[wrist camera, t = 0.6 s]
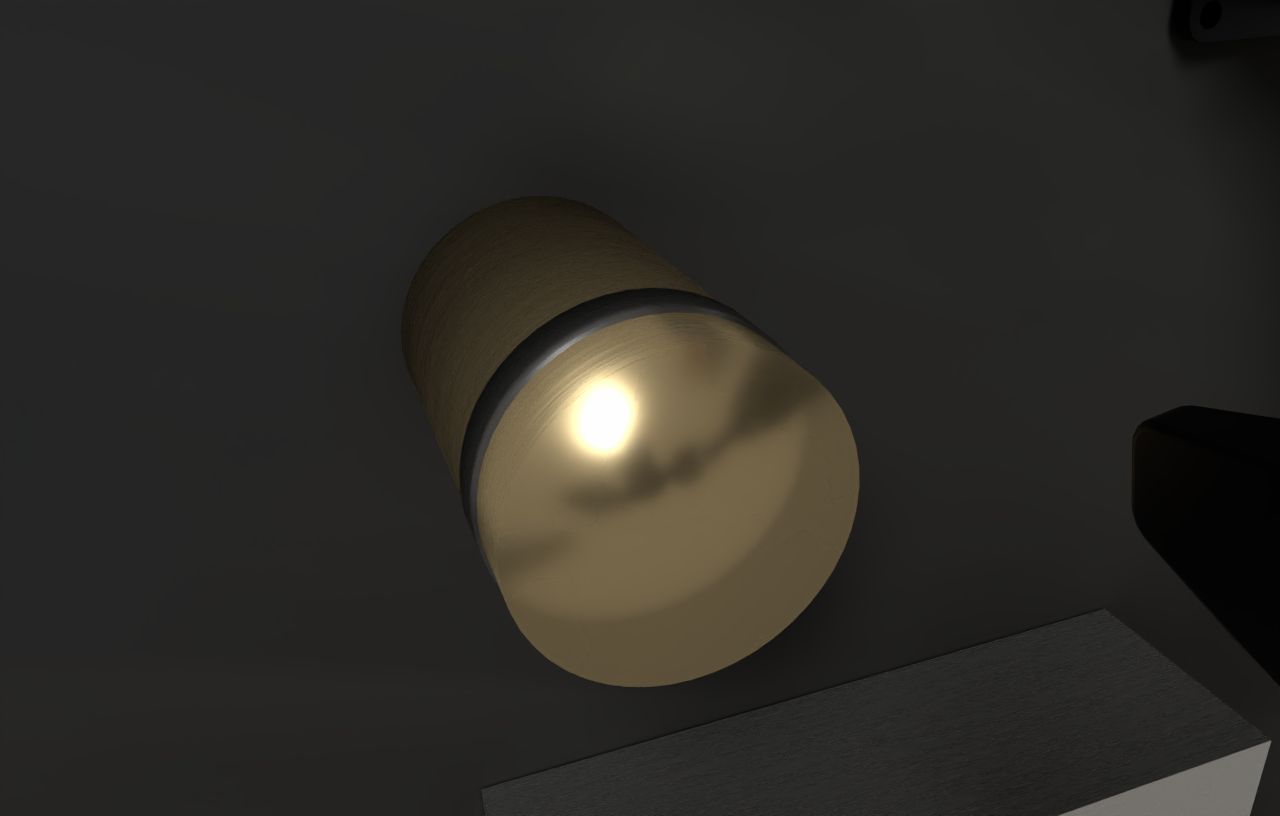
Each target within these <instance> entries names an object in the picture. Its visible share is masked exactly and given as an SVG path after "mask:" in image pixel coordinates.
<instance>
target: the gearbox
mask: <svg viewBox="0 0 1280 816" xmlns="http://www.w3.org/2000/svg"><path fill="white" fill-rule="evenodd" d="M1270 743H1271V740H1270V739H1269V738H1268V737H1266V736H1265V735H1264V734H1263V733H1261V732H1260V731H1259V730H1258V729H1256V728H1255V727H1254V726H1253V725H1251V724H1250V723H1249V722H1247V721H1246V720H1245V719H1244V718H1242V717H1241V716H1240V715H1239V714H1237V713H1236V712H1235V711H1234V710H1232V709H1231V708H1230V707H1228V706H1227V705H1226V704H1225V703H1223V702H1222V701H1221V700H1220V699H1218V698H1217V697H1216V696H1215V695H1213V694H1212V693H1211V692H1209V691H1208V690H1207V689H1206V688H1204V687H1203V686H1202V685H1201V684H1199V683H1198V682H1197V681H1196V680H1194V679H1193V678H1192V677H1190V676H1189V675H1188V674H1187V673H1185V672H1184V671H1183V670H1182V669H1180V668H1179V667H1178V666H1177V665H1175V664H1174V663H1173V662H1171V661H1170V660H1169V659H1168V658H1166V657H1165V656H1164V655H1163V654H1161V653H1160V652H1159V651H1158V650H1156V649H1155V648H1154V647H1153V646H1151V645H1150V644H1149V643H1147V642H1146V641H1145V640H1144V639H1142V638H1141V637H1140V636H1139V635H1137V634H1136V633H1135V632H1134V631H1132V630H1131V629H1130V628H1128V627H1127V626H1126V625H1125V624H1123V623H1122V622H1121V621H1120V620H1118V619H1117V618H1116V617H1115V616H1113V615H1112V614H1111V613H1109V612H1108V611H1107V610H1106V609H1102V610H1099V611H1095V612H1092V613H1088V614H1085V615H1081V616H1078V617H1075V618H1071V619H1068V620H1064V621H1061V622H1057V623H1054V624H1050V625H1047V626H1043V627H1040V628H1037V629H1033V630H1030V631H1026V632H1023V633H1019V634H1016V635H1012V636H1009V637H1005V638H1002V639H999V640H995V641H992V642H988V643H985V644H981V645H978V646H974V647H971V648H967V649H964V650H961V651H957V652H954V653H950V654H947V655H943V656H940V657H936V658H933V659H930V660H926V661H923V662H919V663H916V664H912V665H909V666H905V667H902V668H898V669H895V670H892V671H888V672H885V673H881V674H878V675H874V676H871V677H867V678H864V679H860V680H857V681H854V682H850V683H847V684H843V685H840V686H836V687H833V688H829V689H826V690H822V691H819V692H816V693H812V694H809V695H805V696H802V697H798V698H795V699H791V700H788V701H784V702H781V703H778V704H774V705H771V706H767V707H764V708H760V709H757V710H753V711H750V712H747V713H743V714H740V715H736V716H733V717H729V718H726V719H722V720H719V721H715V722H712V723H709V724H705V725H702V726H698V727H695V728H691V729H688V730H684V731H681V732H677V733H674V734H671V735H667V736H664V737H660V738H657V739H653V740H650V741H646V742H643V743H639V744H636V745H633V746H629V747H626V748H622V749H619V750H615V751H612V752H608V753H605V754H602V755H598V756H595V757H591V758H588V759H584V760H581V761H577V762H574V763H570V764H567V765H564V766H560V767H557V768H553V769H550V770H546V771H543V772H539V773H536V774H532V775H529V776H526V777H522V778H519V779H515V780H512V781H508V782H505V783H501V784H498V785H494V786H491V787H488V788H484V789H481V792H482V799H483V807H484V814H485V816H1250V812H1251V809H1252V805H1253V802H1254V799H1255V795H1256V792H1257V788H1258V785H1259V781H1260V778H1261V774H1262V771H1263V767H1264V764H1265V760H1266V757H1267V754H1268V750H1269V747H1270Z"/></svg>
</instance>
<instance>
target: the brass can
mask: <svg viewBox="0 0 1280 816" xmlns="http://www.w3.org/2000/svg"><path fill="white" fill-rule="evenodd" d="M401 335H402V349H403V354H404V358H405V363H406V367H407V369H408V372H409V375H410V377H411V380H412V382H413V385H414V387H415V389H416V392H417V394H418V397H419V399H420V401H421V404H422V406H423V408H424V411H425V413H426V415H427V418H428V420H429V422H430V425H431V427H432V430H433V432H434V434H435V437H436V439H437V441H438V444H439V446H440V448H441V451H442V453H443V455H444V458H445V460H446V462H447V465H448V467H449V470H450V472H451V474H452V477H453V479H454V481H455V484H456V486H457V488H458V491H459V493H460V495H461V498H462V503H463V508H464V513H465V515H466V518H467V521H468V523H469V526H470V529H471V531H472V534H473V536H474V539H475V541H476V543H477V546H478V548H479V551H480V553H481V555H482V558H483V560H484V562H485V565H486V566H487V568H488V570H489V572H490V573H491V575H492V577H493V579H494V580H495V582H496V583H497V584H498V586H499V587H500V590H501V592H502V594H503V597H504V599H505V601H506V604H507V606H508V609H509V611H510V613H511V615H512V616H513V618H514V620H515V622H516V623H517V625H518V627H519V629H520V630H521V632H522V633H523V634H524V635H525V636H526V638H527V639H528V640H529V641H530V643H531V644H532V645H533V646H534V647H535V648H536V649H537V650H538V651H540V652H541V653H542V654H543V655H544V656H545V657H546V658H548V659H549V660H550V661H552V662H554V663H555V664H557V665H558V666H560V667H562V668H563V669H565V670H567V671H569V672H571V673H573V674H576V675H578V676H580V677H583V678H585V679H589V680H592V681H596V682H600V683H603V684H609V685H617V686H624V687H652V686H661V685H670V684H675V683H679V682H684V681H688V680H692V679H695V678H698V677H702V676H705V675H708V674H711V673H713V672H716V671H718V670H720V669H722V668H725V667H727V666H729V665H731V664H734V663H735V662H737V661H739V660H741V659H742V658H744V657H746V656H748V655H750V654H751V653H753V652H755V651H756V650H758V649H759V648H760V647H762V646H763V645H765V644H766V643H768V642H769V641H770V640H772V639H773V638H774V637H776V636H777V635H778V634H779V633H780V632H781V631H783V630H784V629H785V628H786V627H787V626H788V625H790V624H791V623H792V622H793V621H794V620H795V619H796V618H797V617H798V616H799V614H800V613H801V612H802V611H803V610H804V609H805V608H806V607H807V606H808V605H809V604H810V602H811V601H812V600H813V599H814V597H815V596H816V595H817V594H818V592H819V591H820V590H821V588H822V587H823V585H824V584H825V582H826V581H827V579H828V578H829V576H830V575H831V573H832V571H833V570H834V568H835V566H836V564H837V562H838V560H839V558H840V556H841V554H842V552H843V550H844V548H845V545H846V542H847V540H848V537H849V534H850V532H851V529H852V525H853V521H854V517H855V513H856V509H857V502H858V494H859V463H858V456H857V449H856V445H855V441H854V438H853V435H852V431H851V428H850V426H849V424H848V422H847V420H846V417H845V415H844V413H843V411H842V409H841V408H840V406H839V405H838V404H837V402H836V401H835V399H834V398H833V396H832V395H831V394H830V392H829V391H828V390H827V389H826V388H825V387H824V386H823V385H822V384H821V383H820V382H819V381H818V380H817V379H816V378H815V377H813V376H812V375H811V374H810V373H808V372H807V371H806V370H804V369H803V368H802V367H801V366H799V365H798V364H797V363H796V362H794V361H793V360H792V358H791V357H790V356H789V355H788V354H787V353H786V352H785V351H784V350H783V349H782V348H781V346H780V345H779V344H778V343H777V342H775V341H774V340H773V339H772V338H770V337H769V336H768V335H766V334H765V333H764V332H763V331H761V330H760V329H759V328H757V327H756V326H755V325H754V324H752V323H751V322H750V321H748V320H747V319H746V318H744V317H743V316H742V315H740V314H739V313H738V312H736V311H735V310H733V309H732V308H730V307H728V306H726V305H724V304H722V303H720V302H718V301H717V300H716V299H714V298H713V297H712V296H711V295H709V294H708V293H707V292H705V291H704V290H703V289H702V288H700V287H699V286H698V285H697V284H695V283H694V282H693V281H691V280H690V279H689V278H688V277H686V276H685V275H684V274H683V273H681V272H680V271H679V270H678V269H676V268H675V267H674V266H672V265H671V264H670V263H669V262H667V261H666V260H665V259H664V258H662V257H661V256H660V255H658V254H657V253H656V252H655V251H653V250H652V249H651V248H650V247H648V246H647V245H646V244H645V243H643V242H642V241H641V240H639V239H638V238H637V237H636V236H634V235H633V234H632V233H631V232H629V231H628V230H627V229H625V228H624V227H623V226H622V225H620V224H619V223H618V222H616V221H615V220H614V219H612V218H611V217H610V216H608V215H607V214H605V213H603V212H601V211H599V210H598V209H596V208H594V207H592V206H589V205H586V204H584V203H581V202H578V201H575V200H570V199H565V198H561V197H549V196H533V197H522V198H517V199H512V200H507V201H504V202H501V203H498V204H495V205H492V206H489V207H487V208H485V209H483V210H481V211H479V212H476V213H474V214H472V215H471V216H469V217H468V218H466V219H465V220H463V221H462V222H460V223H459V224H457V225H456V226H455V227H454V228H452V229H451V230H450V231H449V232H448V233H447V234H445V235H444V236H443V237H442V238H441V239H440V240H439V242H438V243H437V244H436V245H435V246H434V247H433V248H432V249H431V251H430V252H429V253H428V255H427V256H426V258H425V259H424V261H423V262H422V263H421V265H420V267H419V269H418V271H417V273H416V275H415V276H414V278H413V280H412V283H411V286H410V288H409V291H408V294H407V297H406V301H405V305H404V310H403V315H402V329H401Z"/></svg>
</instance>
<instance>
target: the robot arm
mask: <svg viewBox="0 0 1280 816" xmlns="http://www.w3.org/2000/svg"><path fill="white" fill-rule="evenodd" d="M1204 6H1205V13H1204V16H1203V19H1202V20H1201V21H1200V14H1201V12H1202V9H1203V8H1204ZM1173 26H1174V29H1175V32H1176V34H1177V35H1178V36H1179V37H1180V38H1181V39H1183V40H1189V41H1196V42H1203V43H1209V42H1219V41H1228V40H1238V39H1247V38H1257V37H1267V36H1276V35H1280V0H1176V3H1175V8H1174V14H1173ZM1132 511H1133V515H1134V519H1135V522H1136V524H1137V526H1138V528H1139V530H1140V532H1141V533H1142V535H1143V536H1144V538H1145V539H1146V540H1147V542H1148V543H1149V544H1150V545H1151V546H1152V547H1153V548H1154V550H1155V551H1156V552H1157V553H1158V554H1159V555H1160V556H1161V557H1162V559H1163V560H1164V561H1165V562H1166V563H1167V564H1168V565H1169V566H1170V568H1171V569H1172V570H1173V571H1174V572H1175V573H1176V574H1177V575H1178V577H1179V578H1180V579H1181V580H1182V581H1183V582H1184V583H1185V584H1186V586H1187V587H1188V588H1189V589H1190V590H1191V591H1192V592H1193V593H1194V595H1195V596H1196V597H1197V598H1198V599H1199V600H1200V601H1201V603H1202V604H1203V605H1204V606H1205V607H1206V608H1207V609H1208V610H1209V612H1210V613H1211V614H1212V615H1213V616H1214V617H1215V618H1216V619H1217V621H1218V622H1219V623H1220V624H1221V625H1222V626H1223V627H1224V628H1225V630H1226V631H1227V632H1228V633H1229V634H1230V635H1231V636H1232V637H1233V639H1234V640H1235V641H1236V642H1237V643H1238V644H1239V645H1240V646H1241V648H1242V649H1243V650H1244V651H1245V652H1246V653H1247V654H1248V655H1249V657H1250V658H1251V659H1252V660H1253V661H1254V662H1255V663H1256V664H1257V665H1258V666H1259V667H1260V668H1261V670H1262V671H1263V672H1264V673H1265V674H1266V675H1267V676H1268V677H1269V678H1270V679H1271V680H1272V681H1273V682H1274V683H1275V684H1276V685H1277V686H1278V687H1279V688H1280V419H1278V418H1271V417H1264V416H1258V415H1251V414H1245V413H1238V412H1232V411H1225V410H1219V409H1212V408H1206V407H1199V406H1190V405H1189V406H1181V407H1178V408H1175V409H1172V410H1170V411H1167V412H1165V413H1162V414H1160V415H1157V416H1155V417H1152V418H1150V419H1147V420H1145V421H1144V422H1142V423H1141V424H1140V425H1139V426H1138V427H1137V429H1136V431H1135V433H1134V435H1133V442H1132Z"/></svg>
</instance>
